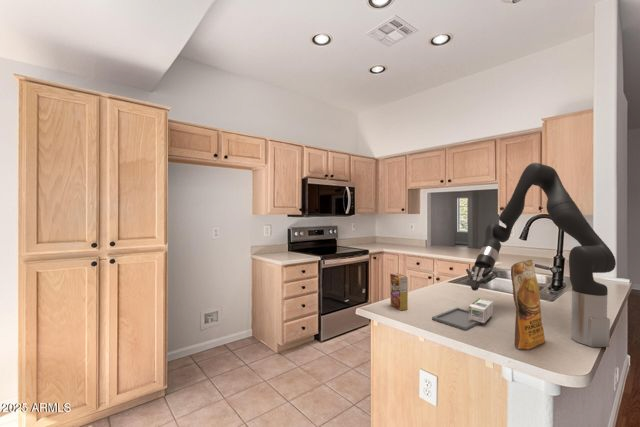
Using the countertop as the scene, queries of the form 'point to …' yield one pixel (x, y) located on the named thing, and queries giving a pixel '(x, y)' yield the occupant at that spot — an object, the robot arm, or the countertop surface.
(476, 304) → the syrup box
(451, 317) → the tray
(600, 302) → the robot arm
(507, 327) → the countertop surface
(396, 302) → the candy box
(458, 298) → the countertop surface
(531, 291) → the pancake mix bag
